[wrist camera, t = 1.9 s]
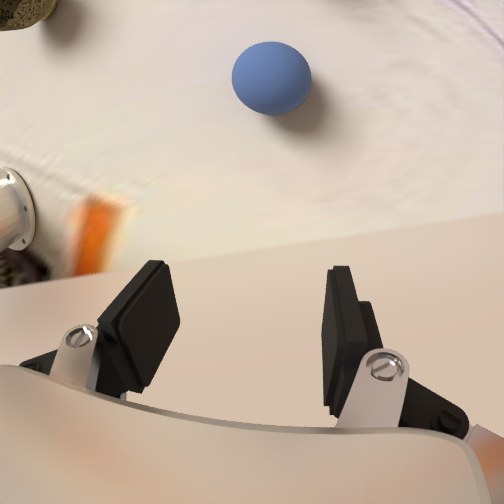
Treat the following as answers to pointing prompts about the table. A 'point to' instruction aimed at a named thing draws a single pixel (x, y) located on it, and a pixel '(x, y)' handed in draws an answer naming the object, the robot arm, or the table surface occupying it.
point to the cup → (24, 13)
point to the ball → (271, 78)
